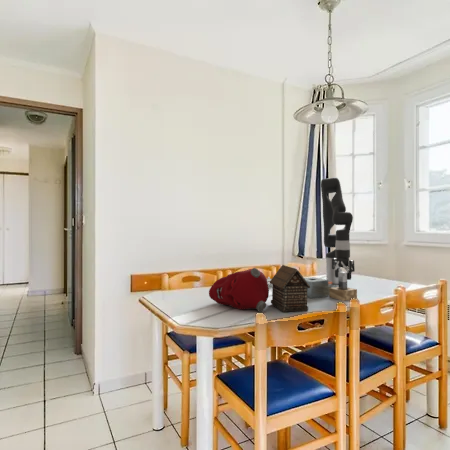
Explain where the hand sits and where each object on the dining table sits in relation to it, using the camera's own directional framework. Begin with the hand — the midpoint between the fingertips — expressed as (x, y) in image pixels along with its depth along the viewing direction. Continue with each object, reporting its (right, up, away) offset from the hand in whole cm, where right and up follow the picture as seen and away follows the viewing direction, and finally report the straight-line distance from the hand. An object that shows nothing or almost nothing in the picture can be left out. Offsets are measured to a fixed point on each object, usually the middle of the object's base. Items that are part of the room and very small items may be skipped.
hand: (342, 278), depth 185 cm
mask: (-55, -12, -16) cm, 59 cm away
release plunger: (-5, -10, +12) cm, 16 cm away
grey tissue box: (-11, -11, +9) cm, 18 cm away
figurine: (-25, -11, +31) cm, 41 cm away
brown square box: (0, -11, 0) cm, 11 cm away
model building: (-33, -11, -19) cm, 40 cm away
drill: (0, -11, 0) cm, 11 cm away
